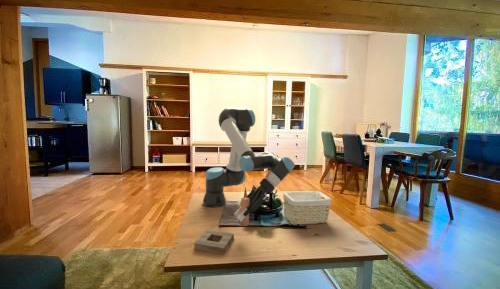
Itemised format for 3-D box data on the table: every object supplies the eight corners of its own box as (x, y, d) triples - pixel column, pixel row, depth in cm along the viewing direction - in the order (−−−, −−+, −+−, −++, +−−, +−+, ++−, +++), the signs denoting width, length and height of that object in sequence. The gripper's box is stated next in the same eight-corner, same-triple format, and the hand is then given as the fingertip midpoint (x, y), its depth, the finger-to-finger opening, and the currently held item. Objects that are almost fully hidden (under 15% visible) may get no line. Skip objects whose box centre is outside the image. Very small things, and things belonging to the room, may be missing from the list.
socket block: (207, 235, 130) (207, 229, 130) (233, 239, 127) (233, 233, 127) (194, 249, 117) (194, 243, 116) (223, 254, 114) (223, 248, 113)
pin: (241, 221, 131) (242, 197, 129) (249, 223, 130) (250, 198, 128) (239, 225, 127) (240, 199, 125) (247, 226, 126) (248, 200, 125)
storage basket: (317, 212, 163) (319, 190, 161) (331, 224, 147) (333, 199, 145) (281, 215, 158) (282, 191, 156) (291, 227, 142) (292, 201, 140)
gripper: (282, 192, 124) (248, 230, 120) (267, 182, 139) (236, 215, 136) (272, 182, 121) (237, 220, 118) (258, 173, 137) (227, 206, 133)
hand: (237, 217), depth 127 cm, fingers closed on pin, 4 cm apart
